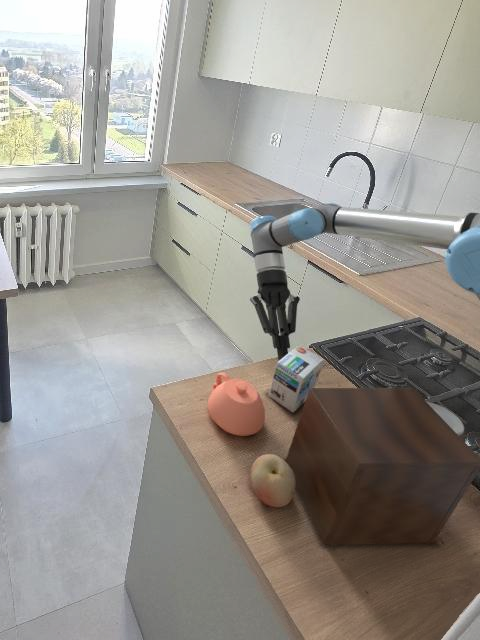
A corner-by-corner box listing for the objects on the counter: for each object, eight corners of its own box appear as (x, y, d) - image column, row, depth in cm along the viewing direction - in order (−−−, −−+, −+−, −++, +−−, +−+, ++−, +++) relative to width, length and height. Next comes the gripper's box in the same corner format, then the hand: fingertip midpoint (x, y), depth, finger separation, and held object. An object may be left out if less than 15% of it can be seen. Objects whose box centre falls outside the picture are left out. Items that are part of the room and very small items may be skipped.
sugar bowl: (229, 449, 88) (237, 415, 84) (191, 400, 100) (197, 367, 96) (273, 432, 92) (284, 398, 88) (232, 387, 104) (240, 355, 100)
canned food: (406, 432, 94) (424, 396, 90) (449, 459, 88) (470, 421, 84) (392, 449, 90) (410, 412, 85) (436, 478, 84) (458, 440, 80)
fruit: (237, 490, 80) (245, 462, 77) (260, 466, 85) (268, 439, 82) (276, 525, 75) (286, 496, 71) (298, 497, 79) (308, 469, 76)
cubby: (377, 463, 87) (413, 387, 78) (433, 543, 73) (484, 462, 64) (284, 464, 86) (309, 387, 77) (323, 545, 72) (360, 463, 63)
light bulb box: (293, 414, 97) (304, 379, 93) (266, 395, 102) (276, 361, 98) (314, 392, 104) (326, 359, 99) (288, 376, 108) (298, 343, 104)
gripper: (287, 275, 118) (301, 362, 110) (242, 274, 117) (253, 362, 109) (300, 268, 111) (316, 361, 103) (253, 267, 110) (265, 361, 102)
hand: (284, 362), depth 106 cm, fingers closed
